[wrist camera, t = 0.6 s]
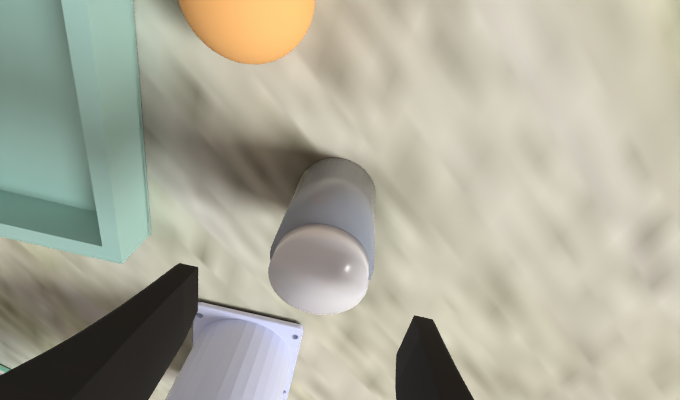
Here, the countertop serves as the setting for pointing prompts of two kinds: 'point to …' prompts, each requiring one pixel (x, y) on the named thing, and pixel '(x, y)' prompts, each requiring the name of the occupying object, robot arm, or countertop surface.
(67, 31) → the tray
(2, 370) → the milk carton
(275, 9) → the ball
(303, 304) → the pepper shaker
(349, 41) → the countertop surface
